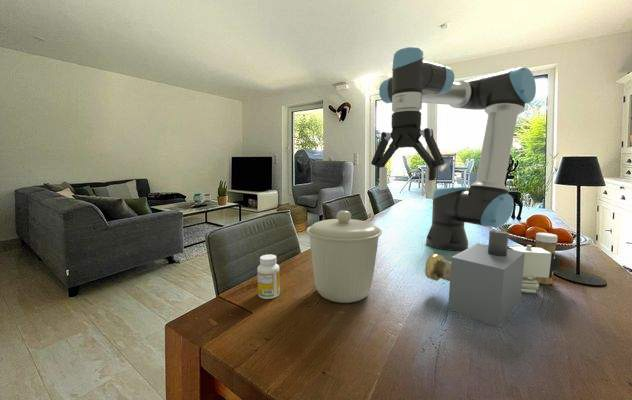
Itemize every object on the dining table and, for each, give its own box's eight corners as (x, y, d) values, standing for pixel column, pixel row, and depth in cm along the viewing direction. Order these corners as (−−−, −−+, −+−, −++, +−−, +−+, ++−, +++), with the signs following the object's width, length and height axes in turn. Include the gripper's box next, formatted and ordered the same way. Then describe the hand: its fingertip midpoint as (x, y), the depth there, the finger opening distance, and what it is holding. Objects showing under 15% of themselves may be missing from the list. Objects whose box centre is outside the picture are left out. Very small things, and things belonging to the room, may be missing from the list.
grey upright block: (490, 250, 67) (492, 229, 67) (508, 253, 65) (510, 231, 64) (485, 253, 65) (487, 231, 64) (503, 257, 62) (505, 234, 62)
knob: (424, 281, 71) (425, 256, 70) (436, 274, 75) (437, 251, 74) (464, 294, 64) (466, 266, 63) (474, 285, 68) (476, 260, 68)
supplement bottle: (271, 287, 75) (270, 252, 74) (284, 294, 71) (283, 256, 70) (253, 294, 71) (252, 256, 70) (266, 301, 67) (265, 262, 66)
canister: (324, 319, 60) (324, 220, 57) (297, 285, 77) (296, 207, 74) (395, 303, 67) (398, 214, 64) (356, 275, 83) (357, 203, 81)
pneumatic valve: (556, 296, 70) (561, 249, 68) (503, 292, 72) (507, 246, 71) (543, 287, 75) (548, 243, 74) (494, 283, 77) (497, 240, 76)
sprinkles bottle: (540, 285, 77) (545, 236, 75) (527, 278, 81) (531, 232, 79) (556, 284, 77) (562, 236, 75) (542, 278, 81) (547, 231, 79)
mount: (447, 308, 64) (450, 256, 63) (473, 287, 75) (476, 243, 74) (499, 327, 57) (504, 269, 55) (520, 301, 68) (524, 252, 66)
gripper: (359, 116, 82) (359, 189, 85) (449, 103, 64) (444, 196, 67) (374, 118, 87) (373, 187, 90) (461, 106, 70) (456, 193, 73)
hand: (404, 191), depth 79 cm, fingers open, 13 cm apart
